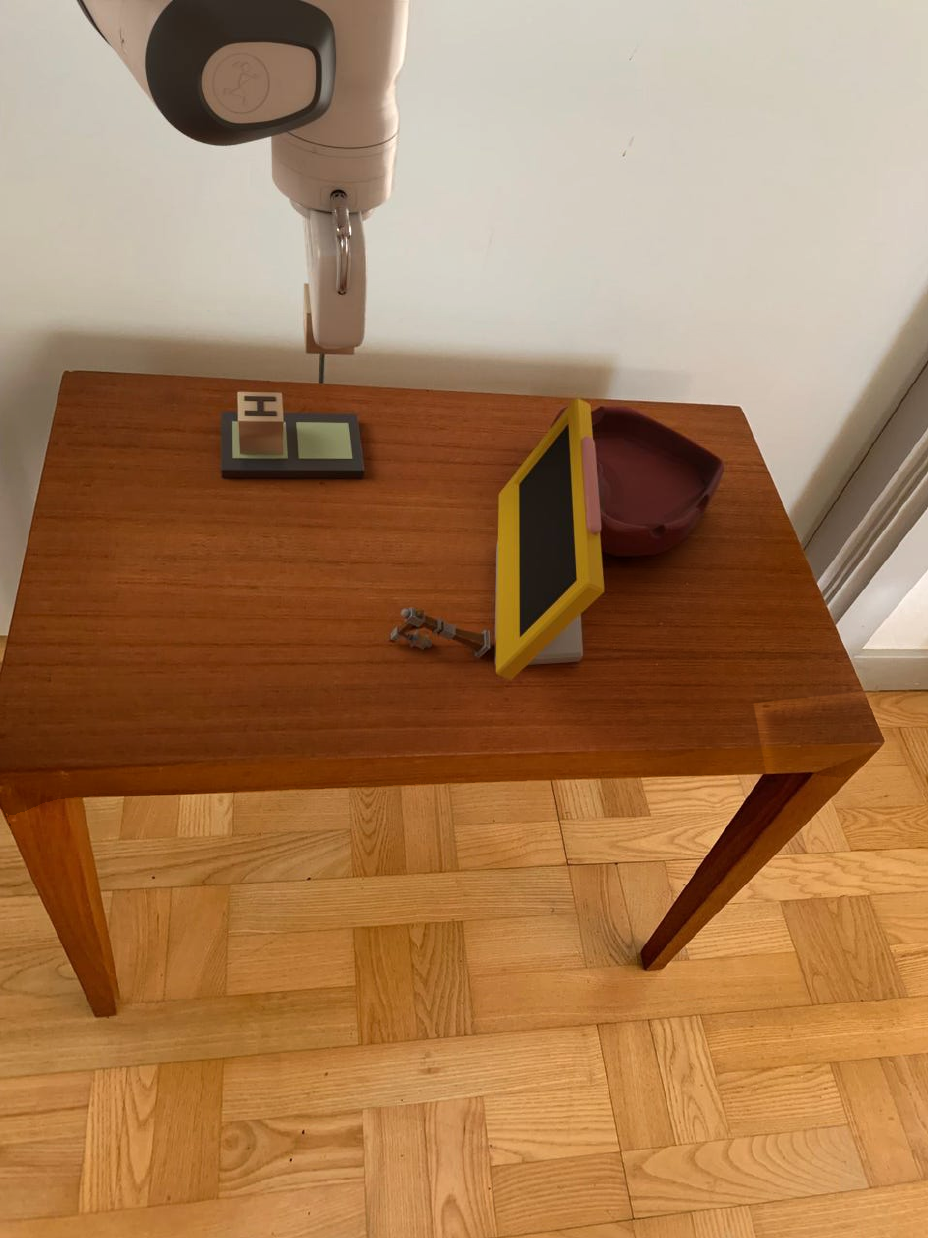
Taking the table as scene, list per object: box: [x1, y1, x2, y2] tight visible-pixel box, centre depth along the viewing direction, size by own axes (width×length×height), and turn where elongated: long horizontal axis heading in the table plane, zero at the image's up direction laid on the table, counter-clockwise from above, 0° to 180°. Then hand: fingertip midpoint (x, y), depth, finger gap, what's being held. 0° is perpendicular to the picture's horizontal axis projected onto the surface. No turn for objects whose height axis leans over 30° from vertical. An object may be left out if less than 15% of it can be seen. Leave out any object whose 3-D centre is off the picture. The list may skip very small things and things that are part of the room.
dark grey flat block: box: [220, 411, 365, 479], centre depth 88 cm, size 13×8×1 cm, turn 99°
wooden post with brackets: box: [388, 606, 491, 659], centre depth 76 cm, size 2×8×4 cm, turn 91°
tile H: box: [237, 391, 284, 454], centre depth 85 cm, size 4×4×4 cm
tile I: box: [302, 282, 356, 356], centre depth 76 cm, size 4×4×4 cm
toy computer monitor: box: [493, 397, 605, 681], centre depth 75 cm, size 20×8×16 cm, turn 178°
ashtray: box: [549, 405, 725, 557], centre depth 90 cm, size 18×16×5 cm
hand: (328, 323), depth 77 cm, fingers closed on tile I, 4 cm apart
